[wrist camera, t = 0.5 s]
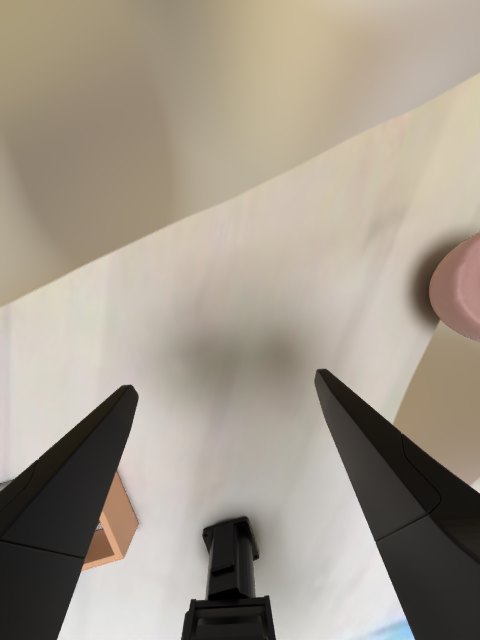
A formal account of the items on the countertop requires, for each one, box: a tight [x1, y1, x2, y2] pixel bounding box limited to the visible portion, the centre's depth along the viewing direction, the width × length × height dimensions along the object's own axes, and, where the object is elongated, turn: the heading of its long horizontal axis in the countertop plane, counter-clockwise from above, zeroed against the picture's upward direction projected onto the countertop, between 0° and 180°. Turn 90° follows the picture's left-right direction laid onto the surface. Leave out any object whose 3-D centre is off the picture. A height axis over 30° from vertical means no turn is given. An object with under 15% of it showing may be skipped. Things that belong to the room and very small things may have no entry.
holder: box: [81, 471, 139, 571], centre depth 24 cm, size 11×11×4 cm
